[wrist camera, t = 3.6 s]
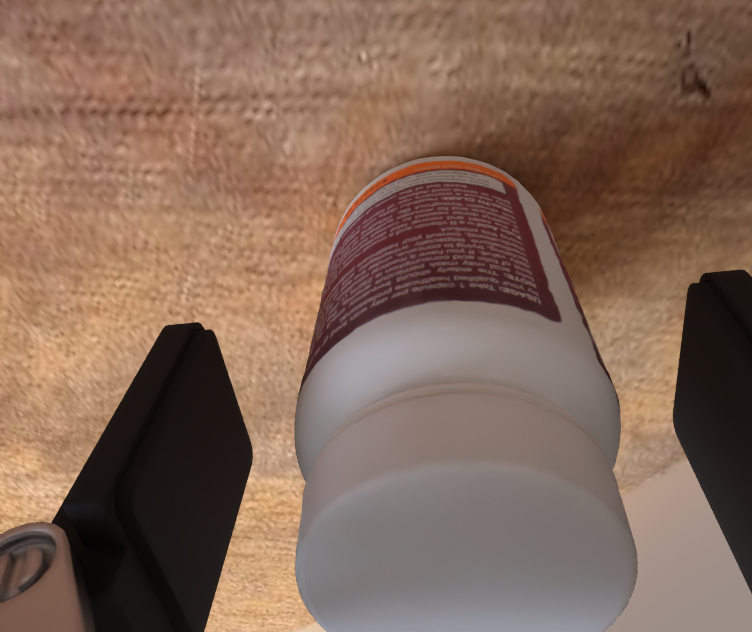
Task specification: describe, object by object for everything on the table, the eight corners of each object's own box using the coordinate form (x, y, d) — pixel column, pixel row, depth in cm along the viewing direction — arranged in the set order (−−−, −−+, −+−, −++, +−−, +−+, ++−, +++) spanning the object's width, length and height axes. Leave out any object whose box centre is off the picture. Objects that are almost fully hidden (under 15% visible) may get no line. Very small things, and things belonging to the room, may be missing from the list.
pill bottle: (291, 263, 15) (182, 591, 8) (435, 101, 13) (455, 355, 6) (445, 375, 17) (465, 735, 10) (596, 246, 15) (764, 586, 7)
